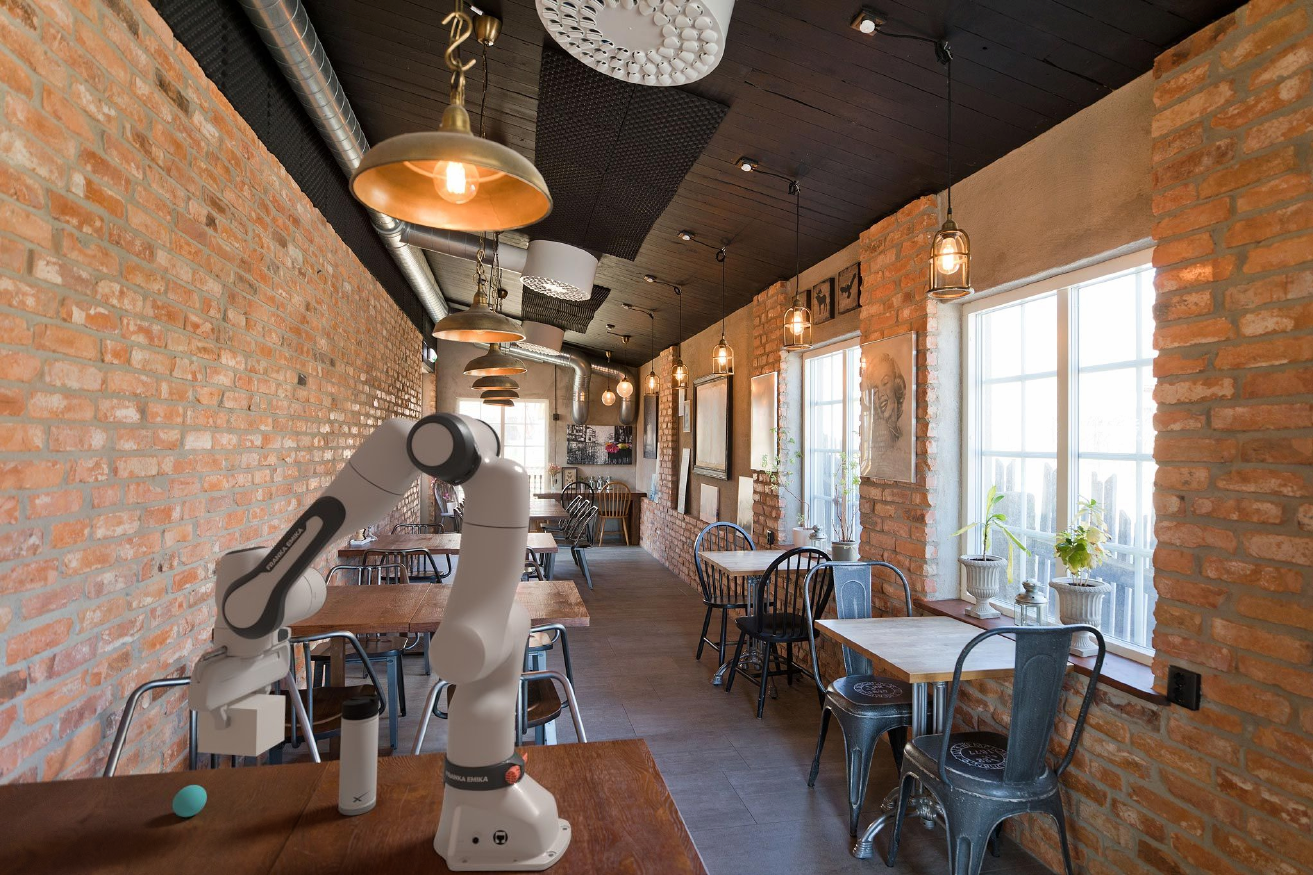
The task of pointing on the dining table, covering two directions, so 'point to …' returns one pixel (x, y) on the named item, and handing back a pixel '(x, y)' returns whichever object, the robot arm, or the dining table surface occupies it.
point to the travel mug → (358, 754)
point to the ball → (189, 801)
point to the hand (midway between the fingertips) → (241, 719)
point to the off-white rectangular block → (245, 726)
